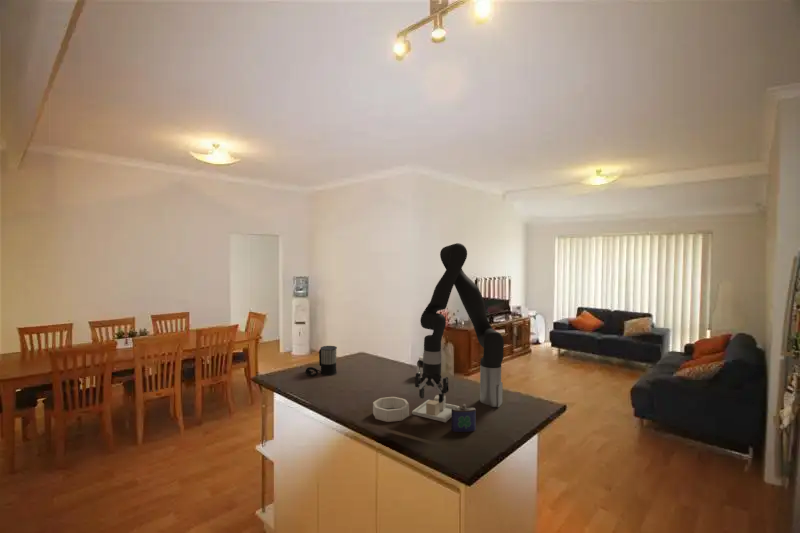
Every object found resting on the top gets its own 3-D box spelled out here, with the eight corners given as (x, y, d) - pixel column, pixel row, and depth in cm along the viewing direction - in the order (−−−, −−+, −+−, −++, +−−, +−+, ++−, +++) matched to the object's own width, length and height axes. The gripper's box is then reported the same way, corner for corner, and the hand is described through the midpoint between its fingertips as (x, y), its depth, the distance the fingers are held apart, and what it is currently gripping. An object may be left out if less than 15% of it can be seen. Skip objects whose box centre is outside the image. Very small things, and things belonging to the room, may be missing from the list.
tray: (459, 411, 159) (459, 406, 159) (445, 424, 146) (445, 419, 146) (428, 404, 167) (428, 399, 167) (412, 416, 154) (412, 411, 154)
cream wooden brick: (439, 413, 154) (439, 401, 154) (435, 417, 151) (435, 405, 150) (430, 411, 156) (430, 399, 156) (426, 415, 153) (426, 403, 153)
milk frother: (340, 372, 213) (340, 346, 213) (320, 380, 200) (320, 352, 200) (322, 368, 221) (322, 343, 221) (302, 375, 208) (301, 349, 207)
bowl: (413, 413, 156) (414, 401, 156) (396, 426, 144) (396, 412, 144) (385, 407, 163) (386, 394, 163) (367, 418, 151) (367, 405, 151)
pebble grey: (445, 407, 160) (445, 396, 160) (443, 411, 157) (443, 399, 157) (436, 406, 162) (436, 394, 162) (434, 409, 158) (434, 398, 158)
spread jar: (414, 376, 207) (415, 355, 207) (433, 373, 211) (433, 353, 211) (423, 382, 196) (423, 360, 196) (442, 380, 200) (443, 358, 200)
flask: (474, 430, 141) (474, 402, 141) (476, 434, 138) (477, 405, 138) (450, 431, 141) (450, 403, 140) (452, 435, 138) (452, 406, 137)
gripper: (451, 361, 153) (450, 401, 153) (421, 356, 160) (420, 393, 161) (443, 366, 146) (442, 407, 147) (412, 360, 154) (411, 399, 154)
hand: (431, 400), depth 154 cm, fingers open, 8 cm apart
